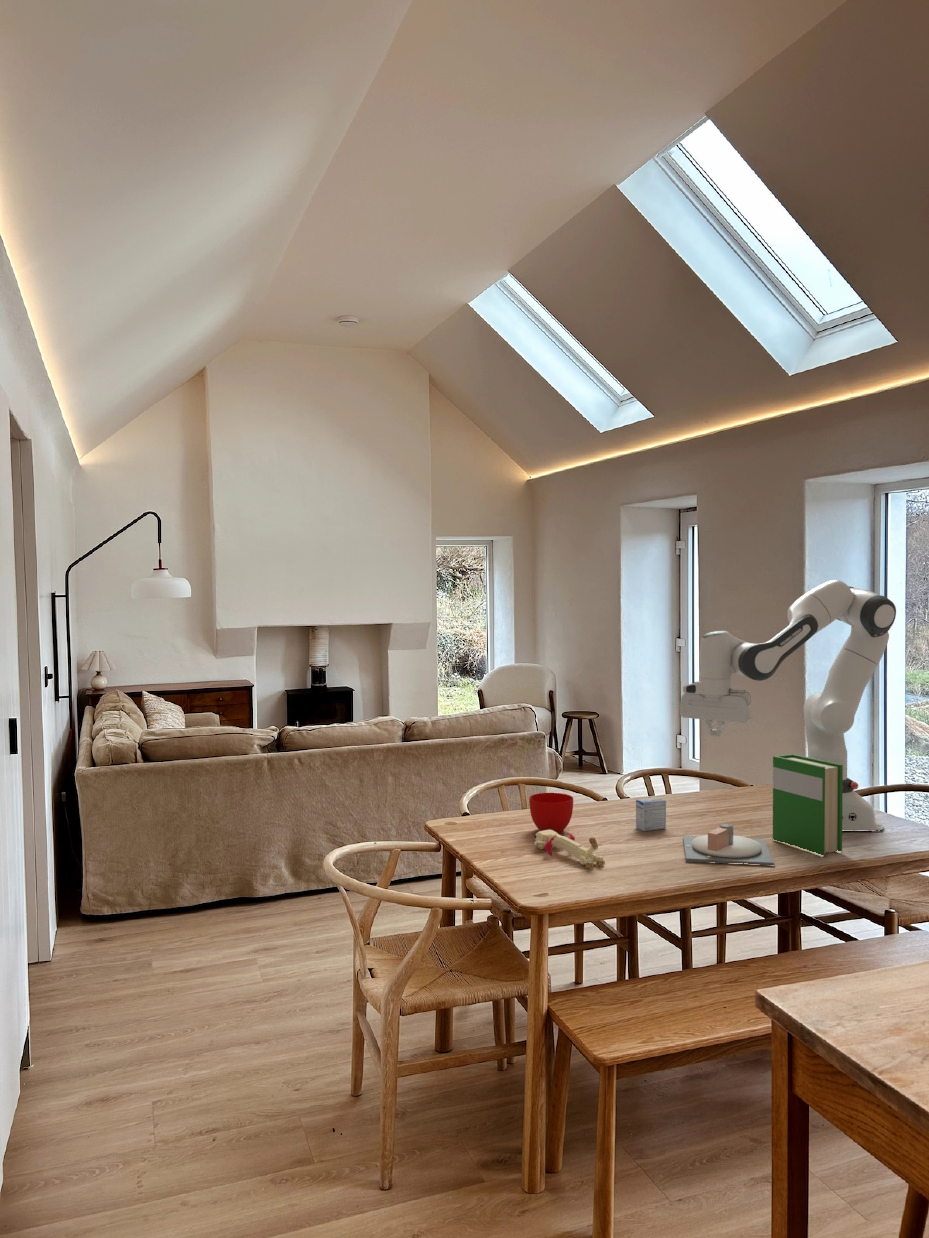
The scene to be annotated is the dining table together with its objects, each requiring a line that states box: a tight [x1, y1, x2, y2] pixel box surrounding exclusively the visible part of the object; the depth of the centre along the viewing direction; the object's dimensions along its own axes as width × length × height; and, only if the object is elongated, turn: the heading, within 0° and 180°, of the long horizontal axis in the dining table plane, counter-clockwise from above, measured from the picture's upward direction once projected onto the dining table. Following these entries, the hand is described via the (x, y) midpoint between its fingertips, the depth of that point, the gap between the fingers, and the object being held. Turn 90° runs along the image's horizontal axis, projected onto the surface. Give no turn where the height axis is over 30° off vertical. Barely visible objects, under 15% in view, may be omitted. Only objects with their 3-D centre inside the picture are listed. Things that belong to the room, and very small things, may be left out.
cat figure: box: [534, 830, 606, 870], centre depth 245 cm, size 10×9×25 cm
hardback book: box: [772, 753, 843, 856], centre depth 252 cm, size 18×7×24 cm, turn 26°
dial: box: [692, 823, 761, 858], centre depth 248 cm, size 18×18×6 cm
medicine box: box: [635, 796, 667, 832], centre depth 272 cm, size 8×4×9 cm, turn 113°
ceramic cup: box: [528, 792, 574, 835], centre depth 272 cm, size 13×17×10 cm
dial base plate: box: [682, 835, 775, 866], centre depth 248 cm, size 22×22×1 cm
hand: (714, 735), depth 262 cm, fingers closed
